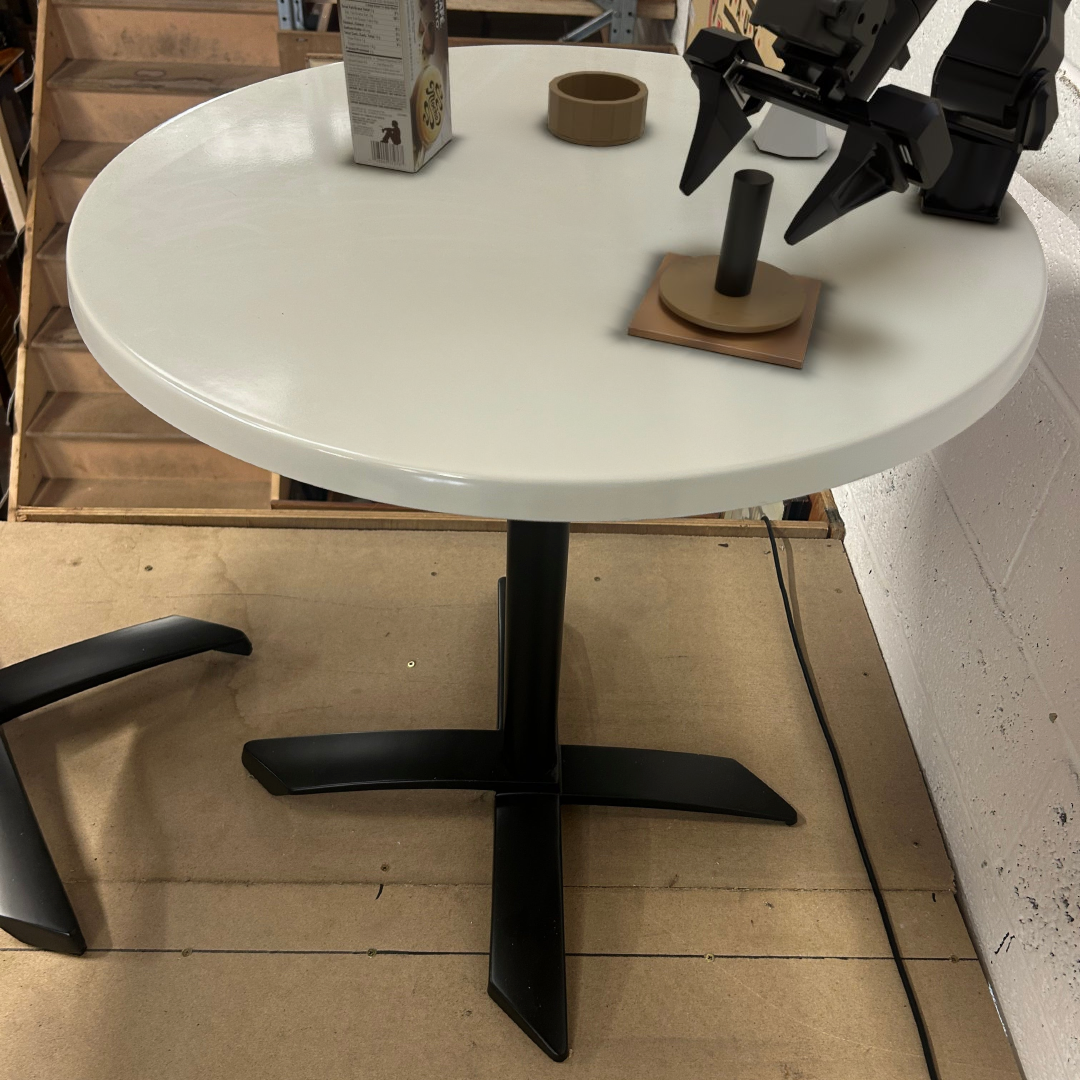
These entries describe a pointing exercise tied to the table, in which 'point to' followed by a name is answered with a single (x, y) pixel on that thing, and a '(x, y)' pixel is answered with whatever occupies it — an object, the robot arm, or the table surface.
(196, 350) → the table surface
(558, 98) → the tin
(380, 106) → the coffee box
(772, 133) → the flask
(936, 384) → the table surface
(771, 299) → the tin lid
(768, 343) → the cork mat
